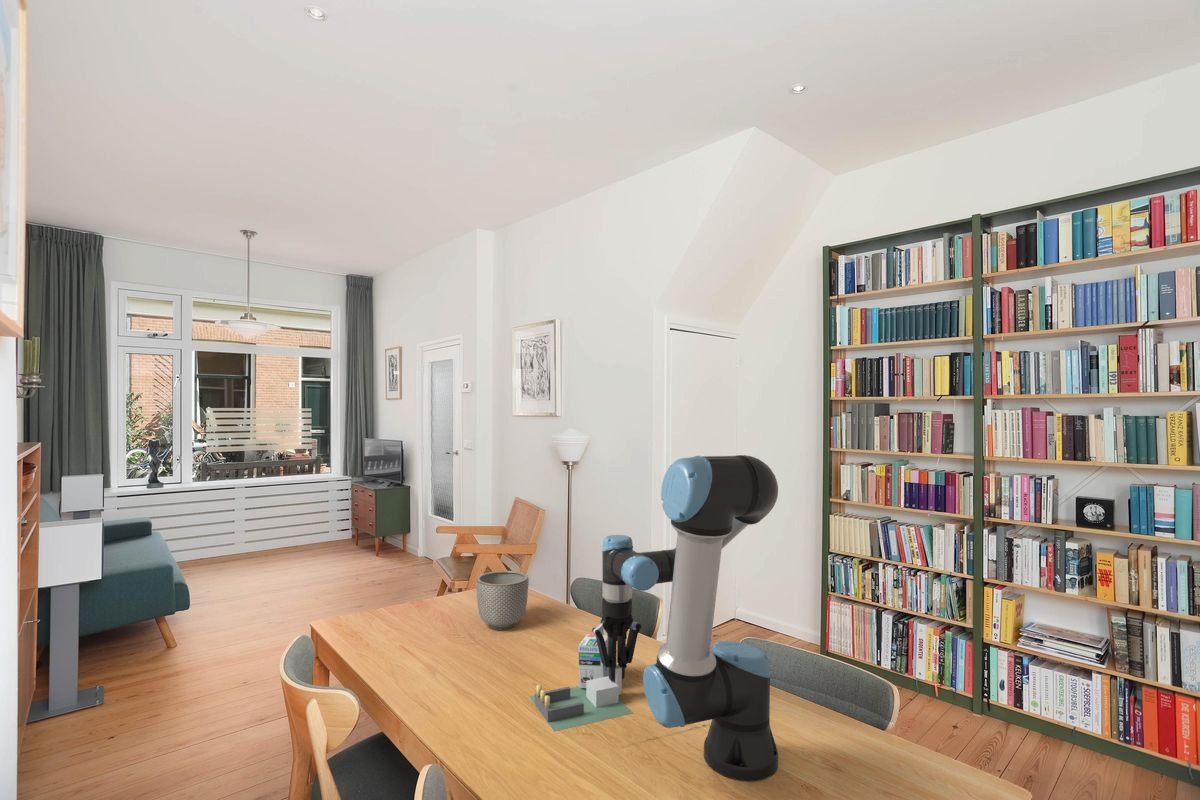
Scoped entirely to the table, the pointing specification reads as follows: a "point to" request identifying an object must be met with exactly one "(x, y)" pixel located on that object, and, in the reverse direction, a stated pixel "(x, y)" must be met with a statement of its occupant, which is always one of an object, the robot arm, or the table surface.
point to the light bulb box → (591, 660)
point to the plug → (602, 691)
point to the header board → (573, 708)
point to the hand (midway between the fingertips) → (616, 692)
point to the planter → (502, 598)
